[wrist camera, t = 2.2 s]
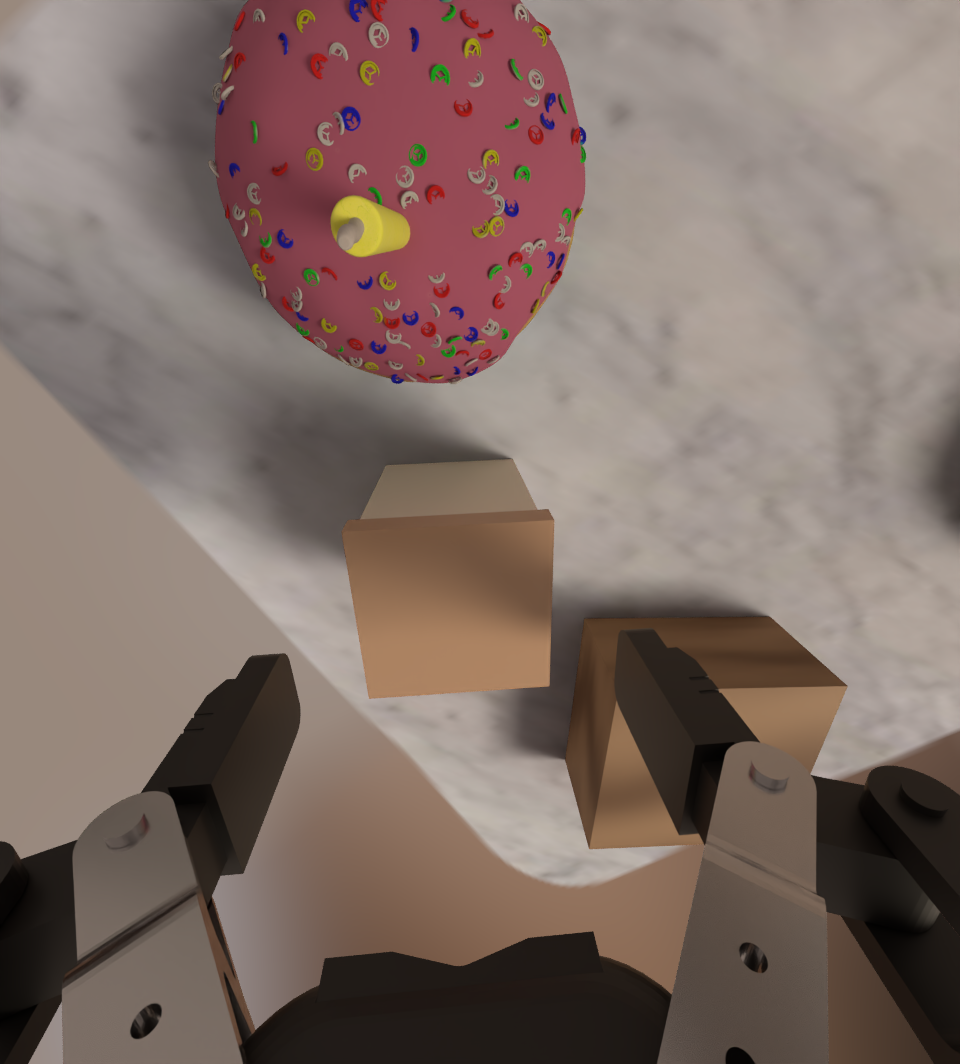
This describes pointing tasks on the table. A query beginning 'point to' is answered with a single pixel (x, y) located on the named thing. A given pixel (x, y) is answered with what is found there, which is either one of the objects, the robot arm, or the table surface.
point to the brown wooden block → (740, 675)
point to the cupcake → (400, 175)
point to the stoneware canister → (452, 580)
